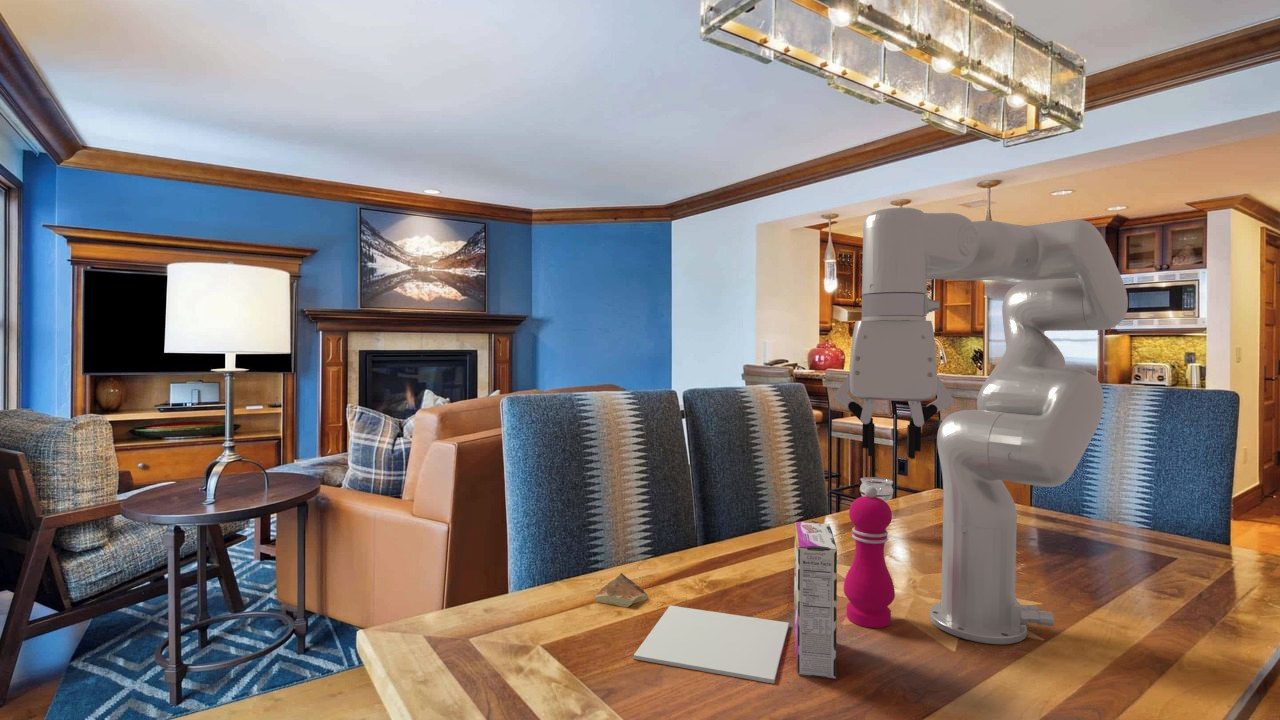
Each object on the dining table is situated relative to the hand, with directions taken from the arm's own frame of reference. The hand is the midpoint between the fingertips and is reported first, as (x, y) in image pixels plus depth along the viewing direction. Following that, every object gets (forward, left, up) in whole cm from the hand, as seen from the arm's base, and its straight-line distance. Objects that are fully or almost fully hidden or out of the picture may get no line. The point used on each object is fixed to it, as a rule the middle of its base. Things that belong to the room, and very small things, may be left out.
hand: (890, 454), depth 81 cm
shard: (+41, -11, -28) cm, 51 cm away
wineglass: (0, -61, -28) cm, 67 cm away
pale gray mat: (+22, 0, -27) cm, 35 cm away
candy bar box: (+9, 0, -28) cm, 29 cm away
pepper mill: (+2, -15, -28) cm, 31 cm away
